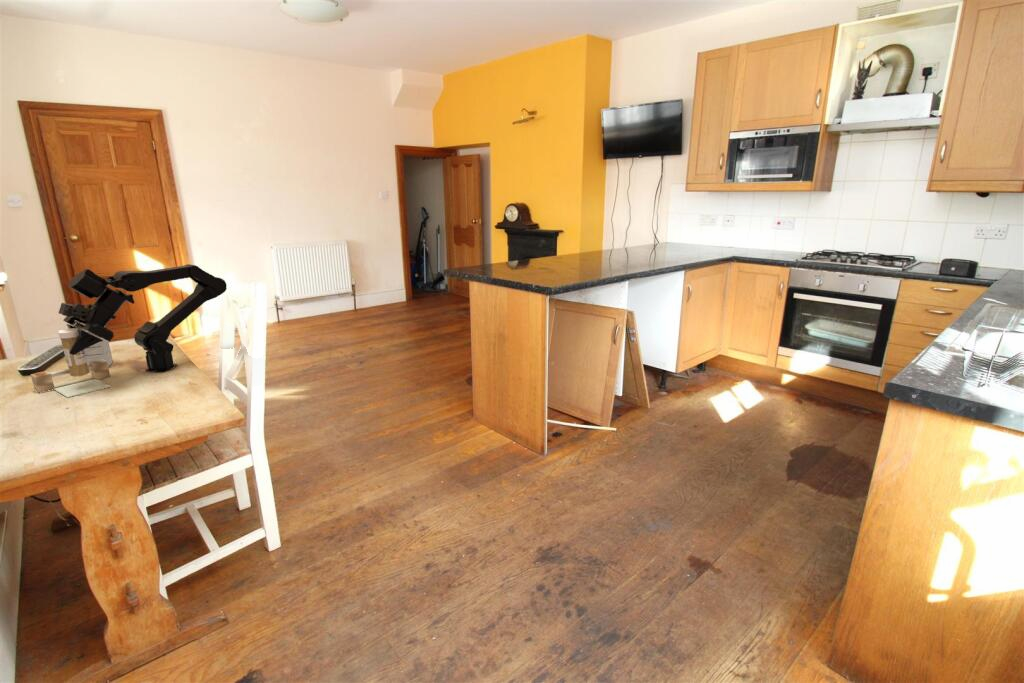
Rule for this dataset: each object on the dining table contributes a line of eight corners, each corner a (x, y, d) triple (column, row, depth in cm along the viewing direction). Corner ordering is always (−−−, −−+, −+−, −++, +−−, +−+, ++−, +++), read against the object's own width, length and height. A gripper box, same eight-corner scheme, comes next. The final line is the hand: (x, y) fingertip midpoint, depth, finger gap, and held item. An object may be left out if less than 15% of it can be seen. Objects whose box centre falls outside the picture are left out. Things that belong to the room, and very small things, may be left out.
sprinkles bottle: (89, 375, 144) (77, 330, 140) (68, 378, 142) (56, 333, 138) (91, 370, 148) (80, 326, 144) (71, 373, 145) (59, 329, 141)
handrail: (105, 373, 157) (102, 358, 156) (110, 376, 156) (106, 360, 154) (35, 390, 144) (30, 373, 142) (39, 393, 142) (34, 376, 140)
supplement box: (86, 364, 165) (77, 327, 162) (113, 361, 168) (106, 325, 165) (79, 371, 159) (69, 333, 155) (107, 368, 162) (99, 331, 158)
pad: (96, 379, 152) (95, 378, 152) (110, 387, 147) (109, 385, 147) (54, 390, 144) (53, 388, 144) (67, 398, 139) (67, 396, 139)
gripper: (64, 287, 145) (24, 332, 140) (90, 295, 136) (48, 344, 130) (102, 308, 154) (66, 351, 149) (129, 317, 145) (92, 364, 139)
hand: (67, 352), depth 141 cm, fingers closed on sprinkles bottle, 4 cm apart
